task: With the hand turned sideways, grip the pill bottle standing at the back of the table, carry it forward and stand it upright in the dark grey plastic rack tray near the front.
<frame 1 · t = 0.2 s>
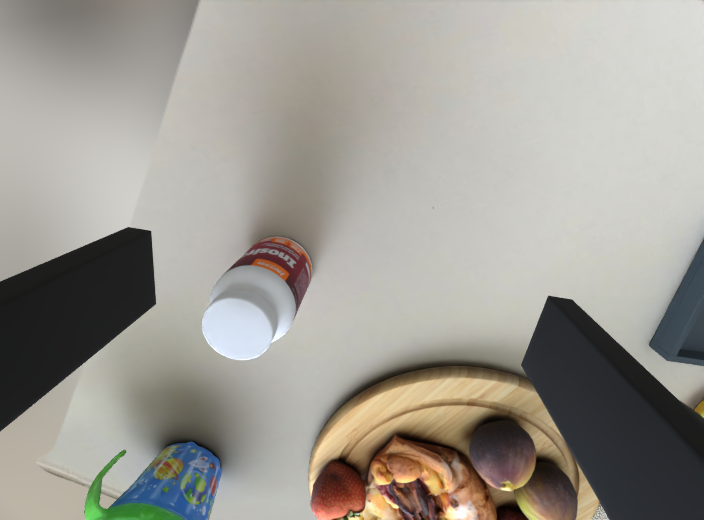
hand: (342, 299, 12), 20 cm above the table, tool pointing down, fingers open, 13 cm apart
pill bottle: (280, 265, 33), on the table
wooden plate: (447, 473, 42), on the table
snack cup: (192, 460, 43), on the table
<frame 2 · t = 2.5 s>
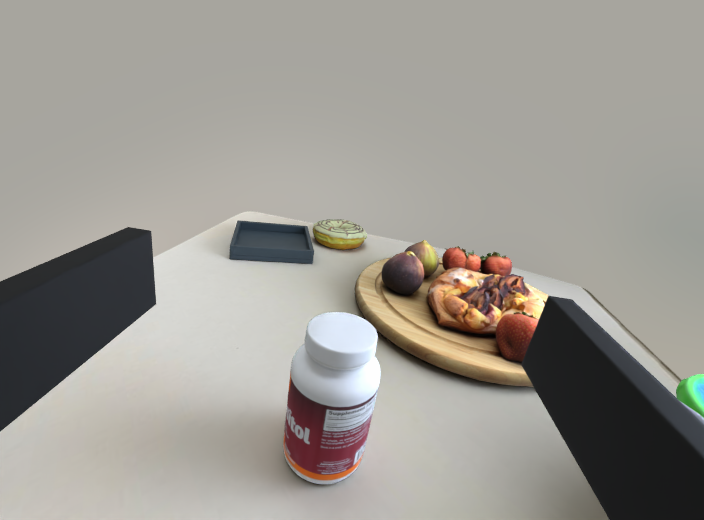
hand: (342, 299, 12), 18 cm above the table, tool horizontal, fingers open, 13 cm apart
pill bottle: (322, 451, 28), on the table
wooden plate: (462, 313, 52), on the table
rack tray: (272, 246, 64), on the table
decorated donut: (338, 243, 72), on the table
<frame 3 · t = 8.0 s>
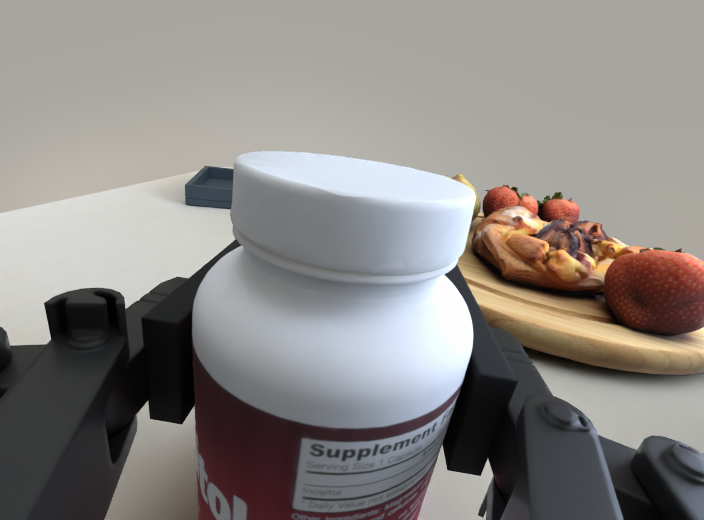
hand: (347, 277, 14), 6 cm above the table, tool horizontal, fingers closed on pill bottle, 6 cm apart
wooden plate: (518, 274, 36), on the table
rack tray: (249, 196, 48), on the table
when the fingers open (7 cm above the table, at t = 18.7 s): pill bottle stays where it is, resting on rack tray.
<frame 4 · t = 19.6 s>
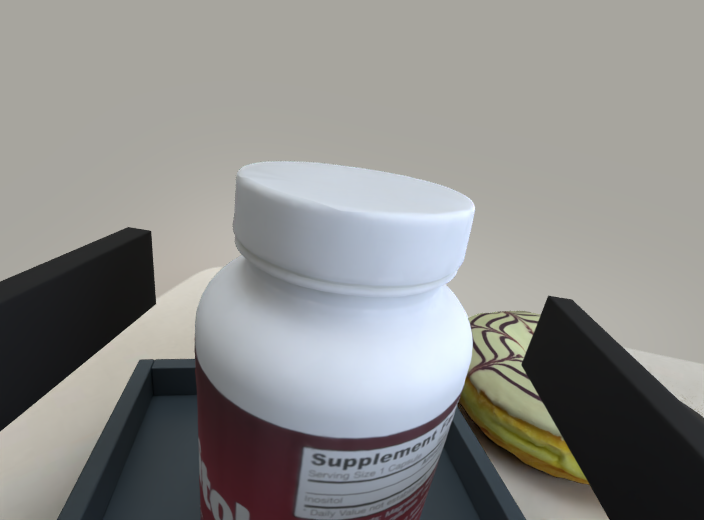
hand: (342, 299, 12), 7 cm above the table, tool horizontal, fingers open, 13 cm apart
decorated donut: (537, 411, 19), on the table
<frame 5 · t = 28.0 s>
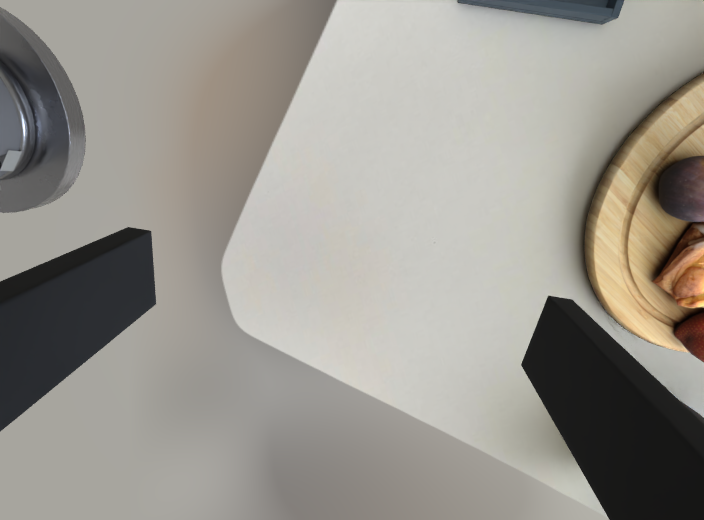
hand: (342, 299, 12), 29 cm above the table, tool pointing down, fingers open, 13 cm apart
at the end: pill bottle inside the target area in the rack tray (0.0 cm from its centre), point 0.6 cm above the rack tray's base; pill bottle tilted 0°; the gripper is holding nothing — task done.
